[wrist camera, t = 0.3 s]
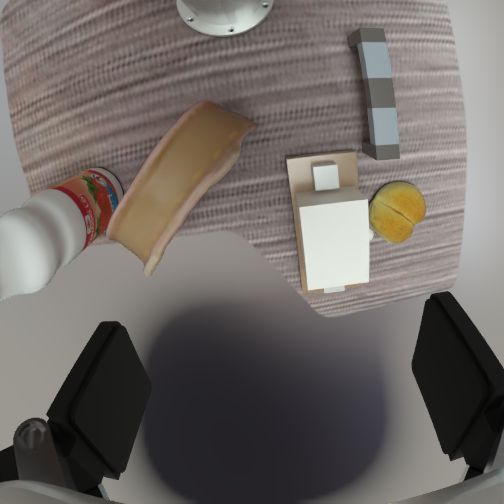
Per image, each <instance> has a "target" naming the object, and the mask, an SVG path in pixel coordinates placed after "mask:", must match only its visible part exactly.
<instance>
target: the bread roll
mask: <svg viewBox="0 0 504 504" xmlns="http://www.w3.org/2000/svg"><path fill="white" fill-rule="evenodd" d="M425 212H426V204H425V200H424V198H423V196H422V194H421V192H420V191H419V189H418V188H416V187H415V186H414V185H412V184H409V183H405V182H392V183H389V184H387V185H385V186H384V187H382V188H381V189H380V190H379V191H378V192H377V194H376V195H375V197H374V199H373V200H372V201H371V203H370V205H369V207H368V213H369V227H370V228H372V229H373V230H374V231H375V232H376V233H378V234H379V235H380V236H381V237H383V238H384V239H385V240H386V241H387V242H388V243H390V244H391V243H400V242H403V241H405V240H406V239H408V238H409V237H410V235H411V234H412V231H413V226H414V225H415V224H417V223H419V222H421V221H422V220H423V218H424V216H425Z"/></svg>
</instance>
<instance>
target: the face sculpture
mask: <svg viewBox="0 0 504 504" xmlns="http://www.w3.org/2000/svg"><path fill="white" fill-rule="evenodd" d="M257 125H258V124H257V123H256V122H254V121H251V120H249V119H248V118H246V117H244V116H241V115H239V114H236V113H233V112H230V111H227V110H225V109H223V108H222V107H221V106H220V105H219V104H217V103H214V102H212V101H209V100H204V101H201V102H199V103H197V104H195V105H194V106H192V107H191V108H190V109H189V110H187V111H186V112H185V113H184V114H183V115H182V116H181V117H180V118H179V119H178V120H177V121H176V122H175V123H174V124H173V125H172V127H171V128H170V129H169V130H168V131H167V132H166V134H165V135H164V136H163V137H162V139H161V140H160V141H159V142H158V144H157V145H156V146H155V148H154V149H153V150H152V152H151V153H150V155H149V156H148V158H147V159H146V161H145V163H144V164H143V166H142V167H141V169H140V171H139V172H138V174H137V175H136V177H135V178H134V180H133V182H132V184H131V185H130V187H129V189H128V190H127V192H126V193H125V194H124V196H123V197H122V199H121V201H120V202H119V204H118V206H117V207H116V209H115V211H114V213H113V215H112V217H111V219H110V221H109V224H108V227H107V231H106V236H107V238H108V239H109V240H115V241H118V242H119V243H120V244H122V245H123V246H124V247H126V248H127V249H128V250H130V251H131V252H132V253H134V254H135V255H136V256H137V257H138V258H139V259H140V260H142V262H143V263H144V268H143V273H144V275H145V276H147V277H148V276H151V274H152V273H153V271H154V270H155V268H156V266H157V265H158V263H159V262H160V260H161V258H162V256H163V254H164V251H165V248H166V247H167V245H168V244H169V243H170V241H171V240H172V238H173V237H174V235H175V234H176V232H177V231H178V230H179V228H180V227H181V226H182V224H183V223H184V221H185V220H186V218H187V216H188V215H189V213H190V212H191V210H192V209H193V208H194V207H195V205H196V204H197V202H198V201H199V200H200V198H201V197H202V196H203V195H204V194H205V193H206V192H207V190H208V189H209V188H210V187H211V186H212V185H214V184H215V183H217V182H218V181H219V180H220V179H221V178H222V177H223V176H224V175H225V174H226V173H227V172H228V171H229V170H230V169H231V168H232V167H233V165H234V164H235V162H236V160H237V159H238V157H239V156H240V153H241V143H242V141H243V139H244V137H245V136H246V135H247V134H248V133H250V132H253V131H254V130H255V129H256V128H257Z"/></svg>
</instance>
